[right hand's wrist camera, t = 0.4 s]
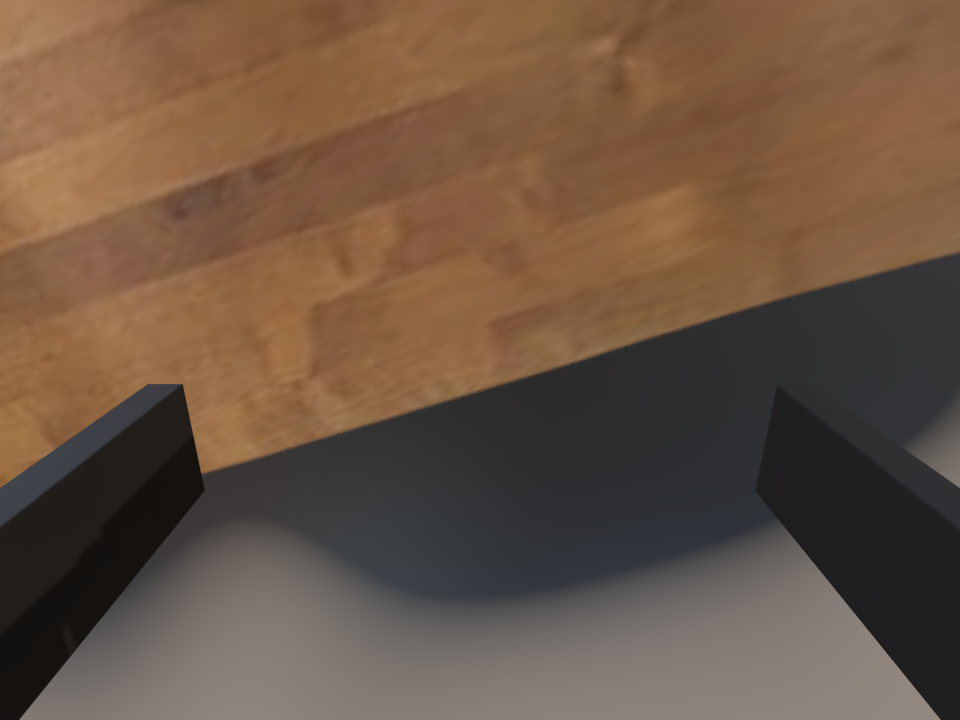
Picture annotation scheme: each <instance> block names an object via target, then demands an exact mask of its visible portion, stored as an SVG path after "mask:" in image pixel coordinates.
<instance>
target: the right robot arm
mask: <svg viewBox="0 0 960 720" xmlns="http://www.w3.org/2000/svg"><path fill="white" fill-rule="evenodd" d="M204 491H205V490H204V485H203V480H202V475H201V471H200V466H199V461H198V456H197V451H196V446H195V442H194V437H193V432H192V427H191V422H190V418H189V413H188V408H187V403H186V398H185V393H184V389H183V384H148V385H146V386H145V387H143V388H142V389H140V390H139V391H138V392H136V393H135V394H133V395H132V396H131V397H129V398H128V399H126V400H125V401H123V402H122V403H121V404H119V405H118V406H116V407H115V408H113V409H112V410H111V411H109V412H108V413H106V414H105V415H104V416H102V417H101V418H99V419H98V420H96V421H95V422H94V423H92V424H91V425H89V426H88V427H86V428H85V429H84V430H82V431H81V432H79V433H78V434H76V435H75V436H74V437H72V438H71V439H69V440H68V441H67V442H65V443H64V444H62V445H61V446H59V447H58V448H57V449H55V450H54V451H52V452H51V453H49V454H48V455H47V456H45V457H44V458H42V459H41V460H40V461H38V462H37V463H35V464H34V465H32V466H31V467H30V468H28V469H27V470H25V471H24V472H22V473H21V474H20V475H18V476H17V477H15V478H14V479H13V480H11V481H10V482H8V483H7V484H5V485H4V486H3V487H1V488H0V720H19V719H20V718H21V717H22V716H23V714H24V713H25V712H26V711H27V709H28V708H29V707H30V706H31V704H32V703H33V702H34V701H35V700H36V698H37V697H38V696H39V695H40V693H41V692H42V691H43V690H44V688H45V687H46V686H47V685H48V683H49V682H50V681H51V680H52V678H53V677H54V676H55V675H56V673H57V672H58V671H59V670H60V669H61V667H62V666H63V665H64V664H65V662H66V661H67V660H68V659H69V658H70V656H71V655H72V654H73V653H74V651H75V650H76V649H77V648H78V646H79V645H80V644H81V643H82V641H83V640H84V639H85V638H86V637H87V635H88V634H89V633H90V632H91V630H92V629H93V628H94V627H95V625H96V624H97V623H98V622H99V620H100V619H101V618H102V617H103V616H104V614H105V613H106V612H107V611H108V609H109V608H110V607H111V606H112V604H113V603H114V602H115V601H116V599H117V598H118V597H119V596H120V595H121V593H122V592H123V591H124V590H125V588H126V587H127V586H128V585H129V583H130V582H131V581H132V580H133V578H134V577H135V576H136V575H137V574H138V572H139V571H140V570H141V569H142V567H143V566H144V565H145V564H146V562H147V561H148V560H149V559H150V558H151V556H152V555H153V554H154V553H155V551H156V550H157V549H158V548H159V546H160V545H161V544H162V543H163V541H164V540H165V539H166V538H167V537H168V535H169V534H170V533H171V532H172V530H173V529H174V528H175V527H176V525H177V524H178V523H179V522H180V520H181V519H182V518H183V517H184V515H185V514H186V513H187V512H188V511H189V509H190V508H191V507H192V506H193V504H194V503H195V502H196V501H197V499H198V498H199V497H200V496H201V494H202V493H203V492H204ZM755 491H756V492H757V493H758V495H759V496H760V497H761V498H762V499H763V501H764V502H765V503H766V504H767V506H768V507H769V508H770V509H771V511H772V512H773V513H774V514H775V515H776V517H777V518H778V519H779V520H780V522H781V523H782V524H783V525H784V527H785V528H786V529H787V530H788V532H789V533H790V534H791V535H792V537H793V538H794V539H795V540H796V541H797V543H798V544H799V545H800V546H801V548H802V549H803V550H804V551H805V553H806V554H807V555H808V556H809V558H810V559H811V560H812V561H813V562H814V564H815V565H816V566H817V567H818V569H819V570H820V571H821V572H822V574H823V575H824V576H825V577H826V579H827V580H828V581H829V582H830V583H831V585H832V586H833V587H834V588H835V590H836V591H837V592H838V593H839V595H840V596H841V597H842V598H843V600H844V601H845V602H846V603H847V604H848V606H849V607H850V608H851V609H852V611H853V612H854V613H855V614H856V615H857V617H858V618H859V619H860V620H861V622H862V623H863V624H864V625H865V627H866V628H867V629H868V630H869V632H870V633H871V634H872V635H873V637H874V638H875V639H876V640H877V641H878V643H879V644H880V645H881V646H882V648H883V649H884V650H885V651H886V653H887V654H888V655H889V656H890V657H891V659H892V660H893V661H894V662H895V664H896V665H897V666H898V667H899V669H900V670H901V671H902V672H903V674H904V675H905V676H906V677H907V679H908V680H909V681H910V682H911V683H912V685H913V686H914V687H915V688H916V690H917V691H918V692H919V693H920V695H921V696H922V697H923V698H924V700H925V701H926V702H927V703H928V704H929V706H930V707H931V708H932V709H933V711H934V712H935V713H936V714H937V715H938V717H939V718H940V719H941V720H960V488H959V487H957V486H956V485H955V484H953V483H952V482H950V481H949V480H947V479H946V478H945V477H943V476H942V475H940V474H939V473H938V472H936V471H935V470H933V469H932V468H930V467H929V466H928V465H926V464H925V463H923V462H922V461H920V460H919V459H918V458H916V457H915V456H913V455H912V454H910V453H909V452H908V451H906V450H905V449H903V448H902V447H901V446H899V445H898V444H896V443H895V442H893V441H892V440H891V439H889V438H888V437H886V436H885V435H884V434H882V433H881V432H879V431H878V430H876V429H875V428H874V427H872V426H871V425H869V424H868V423H866V422H865V421H864V420H862V419H861V418H859V417H858V416H856V415H855V414H854V413H852V412H851V411H849V410H848V409H847V408H845V407H844V406H842V405H841V404H839V403H838V402H837V401H835V400H834V399H832V398H831V397H829V396H828V395H827V394H825V393H824V392H822V391H821V390H820V389H818V388H817V387H815V386H814V385H812V384H778V385H777V389H776V393H775V398H774V403H773V408H772V413H771V418H770V423H769V427H768V432H767V437H766V442H765V447H764V452H763V456H762V461H761V466H760V471H759V475H758V480H757V485H756V490H755Z"/></svg>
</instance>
